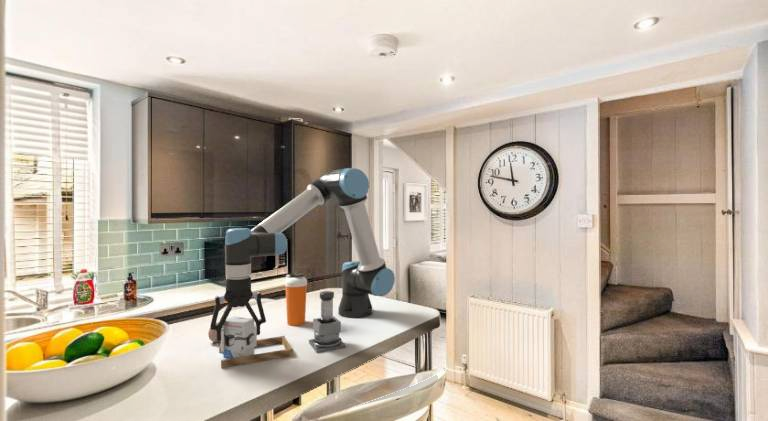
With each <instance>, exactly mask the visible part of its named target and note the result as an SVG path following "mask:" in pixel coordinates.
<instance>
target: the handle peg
mask: <svg viewBox="0 0 768 421" xmlns="http://www.w3.org/2000/svg"><path fill="white" fill-rule="evenodd" d="M334 298H335V292H334V291H330V290H329V291H327V290H325V291H324V290H323V291H321V292H319V299H320V318H321V324H324V323H331V322H333V316H334V314H333V312H334V310H333V309H334V306H333V302H334V301H333V300H334Z"/></svg>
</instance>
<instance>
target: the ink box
mask: <svg viewBox="0 0 768 421" xmlns="http://www.w3.org/2000/svg"><path fill="white" fill-rule="evenodd" d="M254 324H255V321H254V319H253V318H252V317H245V316H232V317H229V318H227V319H226V321H225V323H224V325H223V330H224V352H222V353H223V355H222V356H223V358H225V359H230V358H236V357H242V356H249V355H255V354H256V353H255V347H254Z"/></svg>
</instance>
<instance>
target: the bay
mask: <svg viewBox="0 0 768 421" xmlns="http://www.w3.org/2000/svg"><path fill="white" fill-rule="evenodd" d="M277 344H282V345H283V347H284V349H280V350H274V351H268V352H262V353H254V354H255V355H249V356H242V357H236V358H225V359H220V368H221V369H223V368H228V367H235V366H240V365H246V364H254V363H257V362H264V361H265V362H266V361H269V360H277V359H280V358H281V359H282V358H287V357H293V356H294V354H293V353H294V349H293V347H292V346H291V344H290V343H289V341H288V339H287V337H286V336H285V335H279V336H275V337H274V336H273V337H268V338H267V337H266V338H260V339H257V347H263V346H264V347H265V346H270V345H277ZM218 347H219V349H218V350H219V351H218V352H219V353H222V352H221V344H220V345H218Z"/></svg>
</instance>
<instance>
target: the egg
mask: <svg viewBox="0 0 768 421" xmlns="http://www.w3.org/2000/svg"><path fill="white" fill-rule="evenodd" d="M218 323H219V321H216V325H218ZM222 328H223V327H222ZM207 334H208V338H209V340H210V341H211V342H213V343H218V342H220V341H217V331H216V330H211V328H210V327H209V330H208V333H207Z"/></svg>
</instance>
